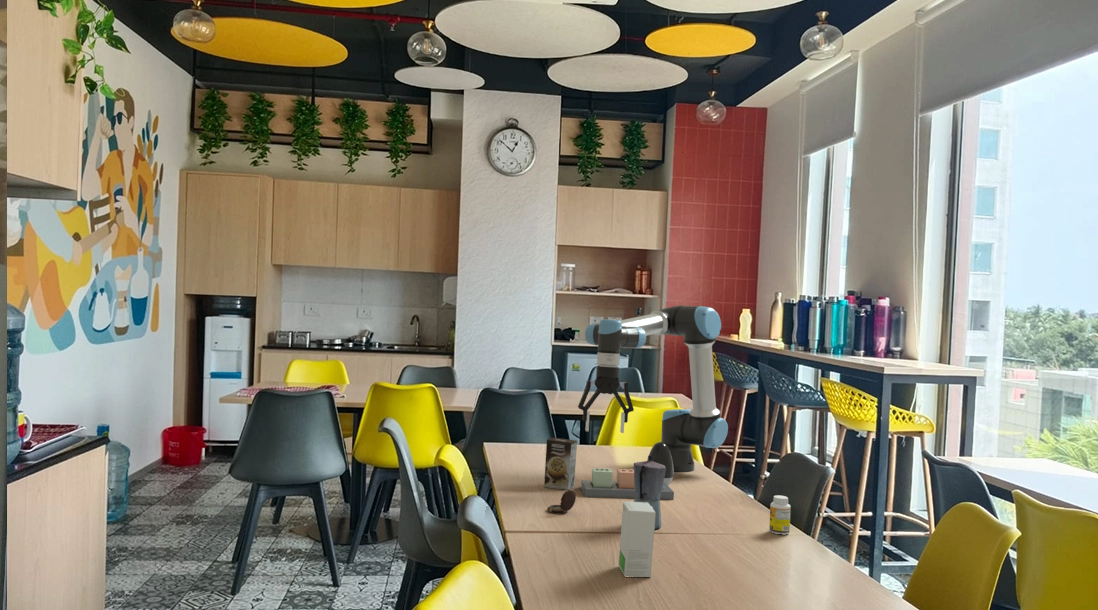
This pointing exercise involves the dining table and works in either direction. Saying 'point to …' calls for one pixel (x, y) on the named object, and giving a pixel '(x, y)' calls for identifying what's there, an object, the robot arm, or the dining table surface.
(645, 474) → the moka pot
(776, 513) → the supplement bottle
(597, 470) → the sage key
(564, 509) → the compass
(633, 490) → the keypad board
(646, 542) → the skincare box
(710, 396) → the robot arm
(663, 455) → the pump dispenser
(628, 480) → the terracotta key
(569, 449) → the coffee box
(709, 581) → the dining table surface
